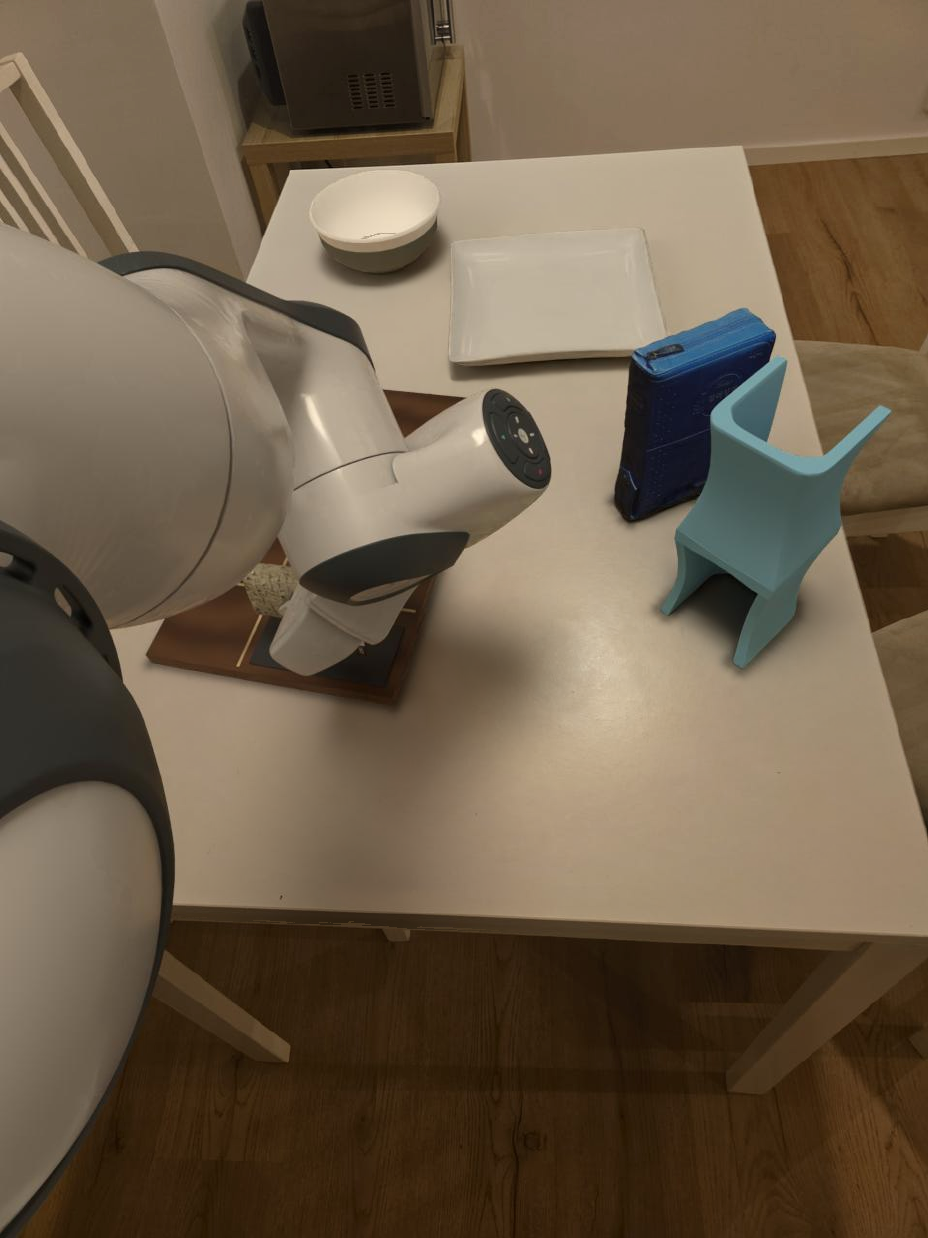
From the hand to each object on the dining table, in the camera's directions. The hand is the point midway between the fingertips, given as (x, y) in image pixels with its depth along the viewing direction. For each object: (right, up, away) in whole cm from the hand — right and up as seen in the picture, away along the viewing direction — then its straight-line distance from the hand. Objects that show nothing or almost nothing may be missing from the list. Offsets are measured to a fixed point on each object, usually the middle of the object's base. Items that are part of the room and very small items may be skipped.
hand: (297, 588), depth 72 cm
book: (+38, +11, +17) cm, 43 cm away
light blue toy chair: (+41, -2, +8) cm, 42 cm away
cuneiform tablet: (+1, -3, +4) cm, 5 cm away
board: (+1, +8, +19) cm, 20 cm away
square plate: (+27, +39, +37) cm, 60 cm away
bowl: (+3, +51, +48) cm, 70 cm away
